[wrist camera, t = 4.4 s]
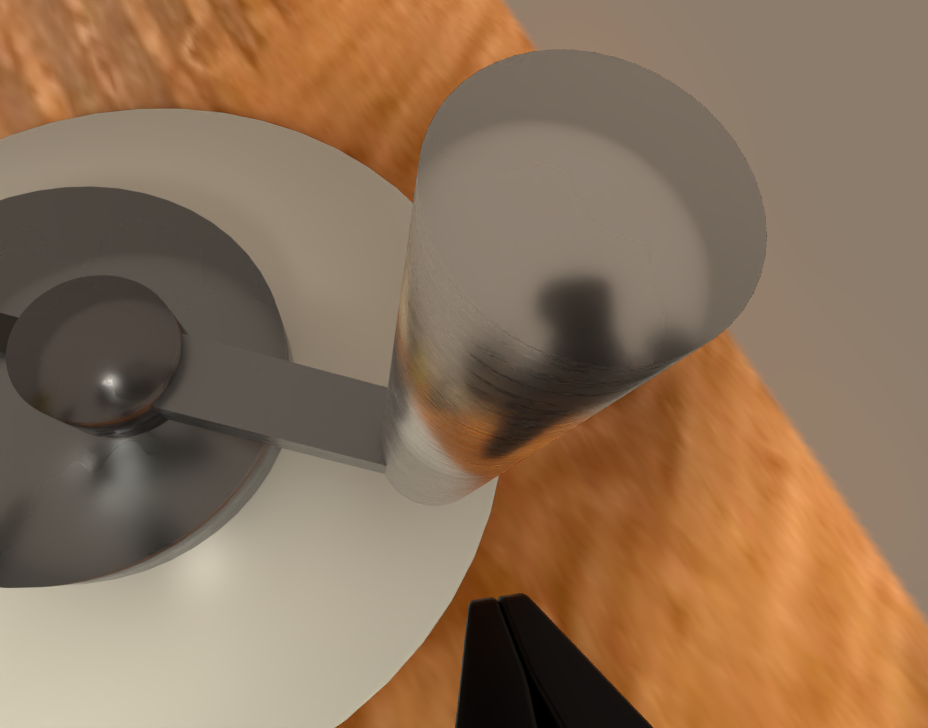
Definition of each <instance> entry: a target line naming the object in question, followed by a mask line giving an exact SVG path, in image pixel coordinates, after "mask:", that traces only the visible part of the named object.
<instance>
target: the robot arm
mask: <svg viewBox="0 0 928 728" xmlns="http://www.w3.org/2000/svg"><path fill="white" fill-rule="evenodd" d="M455 728H653V727H652V726H651V725H650V723H649V722H648V721H647V720H646V719H645V718H644V717H643V716H642V715H641V714H640V713H639V712H638V711H637V710H636V709H635V708H634V707H633V706H632V705H631V704H630V702H629V701H628V700H627V699H626V698H625V697H624V696H623V695H622V694H621V693H620V692H619V691H618V690H617V689H616V688H615V687H614V686H613V685H612V684H611V683H610V682H609V680H608V679H607V678H606V677H605V676H604V675H603V674H602V673H601V672H600V671H599V670H598V669H597V668H596V667H595V666H594V665H593V664H592V663H591V662H590V661H589V659H588V658H587V657H586V656H585V655H584V654H583V653H582V652H581V651H580V650H579V649H578V648H577V647H576V646H575V645H574V644H573V643H572V642H571V641H570V640H569V638H568V637H567V636H566V635H565V634H564V633H563V632H562V631H561V630H560V629H559V628H558V627H557V626H556V625H555V624H554V623H553V622H552V621H551V620H550V619H549V617H548V616H547V615H546V614H545V613H544V612H543V611H542V610H541V609H540V608H539V607H538V606H537V605H536V604H535V603H534V602H533V601H532V600H531V599H530V598H529V597H528V596H527V595H525V594H523V593H518V594H511V595H505V596H501V597H499V598H498V600H496V599H495V598H492V597H491V598H484V599H477V600H472V601H470V603H469V605H468V613H467V622H466V631H465V640H464V649H463V659H462V668H461V677H460V686H459V695H458V704H457V713H456V723H455Z"/></svg>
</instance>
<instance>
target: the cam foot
mask: <svg viewBox="0 0 928 728" xmlns="http://www.w3.org/2000/svg"><path fill="white" fill-rule="evenodd" d="M766 241H767V232H766V218H765V212H764V207H763V202H762V197H761V194H760V191H759V188H758V185H757V182H756V179H755V177H754V175H753V173H752V170H751V168H750V166H749V164H748V162H747V160H746V158H745V157H744V155H743V153H742V152H741V150H740V148H739V147H738V145H737V144H736V142H735V141H734V139H733V138H732V137H731V135H730V134H729V133H728V132H727V130H726V129H725V128H724V126H723V125H722V124H721V123H720V122H719V121H718V120H717V119H716V118H715V117H714V116H713V115H712V114H711V113H710V112H709V111H708V110H707V109H706V108H705V107H704V106H703V105H702V104H701V103H699V102H698V101H697V100H696V99H695V98H693V97H692V96H691V95H690V94H688V93H687V92H686V91H684V90H683V89H681V88H680V87H678V86H677V85H676V84H674V83H672V82H671V81H669V80H667V79H665V78H664V77H662V76H660V75H658V74H656V73H655V72H653V71H650V70H648V69H646V68H643V67H641V66H639V65H637V64H634V63H631V62H628V61H625V60H622V59H619V58H616V57H613V56H608V55H604V54H600V53H595V52H587V51H579V50H544V51H533V52H529V53H524V54H520V55H515V56H512V57H509V58H506V59H503V60H501V61H498V62H495V63H493V64H491V65H489V66H487V67H485V68H483V69H481V70H479V71H478V72H476V73H475V74H473V75H472V76H471V77H469V78H468V79H466V80H465V81H464V82H462V83H461V84H460V85H459V86H458V87H457V88H456V89H455V90H454V91H453V92H452V93H451V94H450V95H449V96H448V97H447V98H446V100H445V101H444V102H443V104H442V105H441V106H440V108H439V109H438V110H437V112H436V114H435V116H434V118H433V119H432V121H431V123H430V125H429V127H428V129H427V132H426V135H425V138H424V141H423V144H422V147H421V153H420V159H419V165H418V171H417V179H416V186H415V193H414V200H413V208H412V215H411V222H410V229H409V237H408V244H407V251H406V258H405V266H404V273H403V280H402V287H401V295H400V302H399V309H398V316H397V324H396V331H395V338H394V345H393V353H392V360H391V367H390V374H389V382H388V387H384V386H381V385H377V384H373V383H369V382H365V381H362V380H358V379H354V378H350V377H346V376H343V375H339V374H335V373H331V372H327V371H324V370H320V369H316V368H312V367H308V366H305V365H301V364H297V363H294V362H293V357H292V352H291V348H290V343H289V340H288V337H287V334H286V331H285V328H284V325H283V322H282V319H281V316H280V313H279V311H278V308H277V305H276V303H275V300H274V297H273V294H272V292H271V290H270V288H269V286H268V284H267V282H266V281H265V279H264V277H263V275H262V273H261V271H260V270H259V269H258V267H257V266H256V265H255V263H254V262H253V261H252V259H251V258H250V257H249V255H248V254H247V253H246V252H245V251H244V250H243V249H242V248H241V247H240V246H239V245H238V244H237V243H236V242H235V241H234V240H233V239H232V238H231V237H230V236H229V235H228V234H226V233H225V232H224V231H223V230H221V229H220V228H219V227H217V226H216V225H215V224H213V223H212V222H211V221H209V220H207V219H205V218H204V217H202V216H200V215H199V214H197V213H195V212H193V211H192V210H190V209H187V208H185V207H183V206H180V205H178V204H176V203H173V202H171V201H169V200H166V199H162V198H159V197H156V196H152V195H149V194H146V193H141V192H136V191H130V190H125V189H119V188H107V187H93V186H89V187H62V188H55V189H47V190H39V191H34V192H30V193H25V194H21V195H17V196H12V197H8V198H5V199H3V200H0V587H1V588H34V587H51V586H64V585H76V584H87V583H94V582H101V581H108V580H115V579H118V578H122V577H126V576H129V575H133V574H137V573H140V572H144V571H146V570H149V569H151V568H154V567H156V566H159V565H161V564H164V563H166V562H169V561H171V560H173V559H174V558H176V557H178V556H180V555H182V554H183V553H185V552H187V551H189V550H191V549H193V548H194V547H196V546H197V545H199V544H200V543H202V542H203V541H204V540H206V539H207V538H209V537H210V536H212V535H213V534H214V533H216V532H217V531H218V530H219V529H221V528H222V527H223V526H224V525H225V524H226V523H227V522H228V521H229V520H231V519H232V518H233V517H234V516H235V515H236V514H237V513H238V512H239V511H240V510H241V509H242V508H243V507H244V505H245V504H246V503H247V502H248V501H249V500H250V499H251V497H252V496H253V495H254V494H255V493H256V491H257V490H258V488H259V487H260V485H261V484H262V483H263V481H264V480H265V478H266V477H267V475H268V474H269V472H270V470H271V468H272V466H273V464H274V463H275V461H276V459H277V457H278V455H279V453H280V451H281V448H283V449H287V450H291V451H295V452H299V453H303V454H307V455H311V456H315V457H319V458H323V459H327V460H331V461H335V462H339V463H343V464H347V465H351V466H355V467H359V468H363V469H367V470H371V471H375V472H379V473H383V474H385V475H386V477H387V479H388V481H389V482H390V483H391V485H392V486H393V487H394V488H395V489H396V490H397V491H398V492H399V493H400V494H401V495H403V496H404V497H406V498H407V499H409V500H411V501H413V502H416V503H419V504H423V505H429V506H441V505H447V504H451V503H454V502H456V501H458V500H460V499H462V498H464V497H465V496H467V495H469V494H470V493H472V492H473V491H475V490H476V489H478V488H480V487H481V486H483V485H484V484H486V483H487V482H489V481H491V480H492V479H494V478H495V477H497V476H499V475H500V474H502V473H503V472H505V471H506V470H508V469H510V468H511V467H513V466H514V465H516V464H517V463H519V462H521V461H522V460H524V459H525V458H527V457H528V456H530V455H532V454H533V453H535V452H536V451H538V450H539V449H541V448H543V447H544V446H546V445H547V444H549V443H550V442H552V441H554V440H555V439H557V438H558V437H560V436H562V435H563V434H565V433H566V432H568V431H569V430H571V429H573V428H574V427H576V426H577V425H579V424H580V423H582V422H584V421H585V420H587V419H588V418H590V417H591V416H593V415H595V414H596V413H598V412H599V411H601V410H602V409H604V408H606V407H607V406H609V405H610V404H612V403H613V402H615V401H617V400H618V399H620V398H621V397H623V396H625V395H626V394H628V393H629V392H631V391H632V390H634V389H636V388H637V387H639V386H640V385H642V384H643V383H645V382H647V381H648V380H650V379H651V378H653V377H654V376H656V375H658V374H659V373H661V372H662V371H664V370H665V369H667V368H669V367H670V366H672V365H673V364H675V363H676V362H678V361H680V360H681V359H683V358H684V357H686V356H688V355H689V354H691V353H692V352H694V351H695V350H697V349H699V348H700V347H702V346H703V345H705V344H706V343H708V342H710V341H711V340H713V339H714V338H716V337H717V336H718V335H719V334H720V333H721V332H723V331H724V330H725V329H726V328H727V327H729V326H730V325H731V324H732V323H733V321H734V320H735V319H736V318H737V317H738V316H739V314H740V313H741V312H742V311H743V309H744V308H745V306H746V305H747V303H748V301H749V300H750V298H751V297H752V295H753V293H754V291H755V288H756V286H757V283H758V281H759V278H760V276H761V273H762V268H763V264H764V260H765V254H766Z"/></svg>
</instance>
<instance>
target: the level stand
mask: <svg viewBox="0 0 928 728" xmlns="http://www.w3.org/2000/svg"><path fill="white" fill-rule="evenodd" d="M89 186H93V187H107V188H119V189H125V190H130V191H136V192H141V193H146V194H149V195H152V196H156V197H159V198H162V199H166V200H169V201H171V202H173V203H176V204H178V205H180V206H183V207H185V208H187V209H190V210H192V211H193V212H195V213H197V214H199V215H200V216H202V217H204V218H205V219H207V220H209V221H211V222H212V223H213V224H215V225H216V226H217V227H219V228H220V229H221V230H223V231H224V232H225V233H226V234H228V235H229V236H230V237H231V238H232V239H233V240H234V241H235V242H236V243H237V244H238V245H239V246H240V247H241V248H242V249H243V250H244V251H245V252H246V253H247V254H248V255H249V257H250V258H251V259H252V261H253V262H254V263H255V265H256V266H257V267H258V269H259V270H260V271H261V273H262V275H263V277H264V279H265V281H266V282H267V284H268V286H269V288H270V290H271V292H272V294H273V297H274V300H275V303H276V305H277V308H278V311H279V313H280V316H281V319H282V322H283V325H284V328H285V331H286V334H287V337H288V340H289V343H290V348H291V352H292V357H293V362H294V363H297V364H301V365H305V366H308V367H312V368H316V369H320V370H324V371H327V372H331V373H335V374H339V375H343V376H346V377H350V378H354V379H358V380H362V381H365V382H369V383H373V384H377V385H381V386H384V387H388V382H389V374H390V367H391V360H392V353H393V345H394V338H395V331H396V324H397V316H398V309H399V302H400V295H401V287H402V280H403V273H404V266H405V258H406V251H407V244H408V237H409V229H410V222H411V215H412V208H413V203H412V202H411V201H410V200H409V199H408V198H407V197H406V196H405V195H404V194H403V193H402V192H401V191H399V190H398V189H397V188H396V187H394V186H393V185H392V184H390V183H389V182H388V181H386V180H385V179H384V178H382V177H381V176H380V175H378V174H377V173H376V172H374V171H373V170H372V169H370V168H369V167H367V166H366V165H364V164H362V163H361V162H359V161H357V160H355V159H354V158H352V157H350V156H348V155H347V154H345V153H343V152H342V151H340V150H338V149H336V148H334V147H332V146H330V145H328V144H325V143H323V142H321V141H318V140H316V139H314V138H312V137H309V136H307V135H305V134H302V133H300V132H297V131H294V130H291V129H288V128H284V127H281V126H278V125H275V124H272V123H268V122H265V121H262V120H257V119H252V118H247V117H242V116H237V115H232V114H227V113H221V112H211V111H200V110H190V109H134V110H124V111H115V112H105V113H96V114H91V115H86V116H81V117H76V118H71V119H66V120H62V121H57V122H52V123H49V124H46V125H42V126H39V127H36V128H33V129H29V130H26V131H23V132H20V133H16V134H13V135H10V136H7V137H5V138H2V139H0V200H3V199H5V198H8V197H12V196H17V195H21V194H25V193H30V192H34V191H39V190H47V189H55V188H62V187H89ZM498 477H499V476H497V477H495V478H494V479H492V480H491V481H489V482H487V483H486V484H484V485H483V486H481V487H480V488H478V489H476V490H475V491H473V492H472V493H470V494H469V495H467V496H465V497H464V498H462V499H460V500H458V501H456V502H454V503H451V504H447V505H441V506H429V505H423V504H419V503H416V502H413V501H411V500H409V499H407V498H406V497H404V496H403V495H401V494H400V493H399V492H398V491H397V490H396V489H395V488H394V487H393V486H392V485H391V483H390V482H389V481H388V479H387V477H386V475H385V474H383V473H379V472H375V471H371V470H367V469H363V468H359V467H355V466H351V465H347V464H343V463H339V462H335V461H331V460H327V459H323V458H319V457H315V456H311V455H307V454H303V453H299V452H295V451H291V450H287V449H283V448H281V451H280V453H279V455H278V457H277V459H276V461H275V463H274V464H273V466H272V468H271V470H270V472H269V474H268V475H267V477H266V478H265V480H264V481H263V483H262V484H261V485H260V487H259V488H258V490H257V491H256V493H255V494H254V495H253V496H252V497H251V499H250V500H249V501H248V502H247V503H246V504H245V505H244V507H243V508H242V509H241V510H240V511H239V512H238V513H237V514H236V515H235V516H234V517H233V518H232V519H231V520H229V521H228V522H227V523H226V524H225V525H224V526H223V527H222V528H221V529H219V530H218V531H217V532H216V533H214V534H213V535H212V536H210V537H209V538H207V539H206V540H204V541H203V542H202V543H200V544H199V545H197V546H196V547H194V548H193V549H191V550H189V551H187V552H185V553H183V554H182V555H180V556H178V557H176V558H174V559H173V560H171V561H169V562H166V563H164V564H161V565H159V566H156V567H154V568H151V569H149V570H146V571H144V572H140V573H137V574H133V575H129V576H126V577H122V578H118V579H115V580H108V581H101V582H94V583H87V584H76V585H64V586H51V587H34V588H1V587H0V728H335V727H336V726H338V725H339V724H341V723H342V722H344V721H345V720H346V719H348V718H349V717H350V716H351V715H352V714H353V713H354V712H355V711H357V710H358V709H359V708H360V707H361V706H362V705H363V704H364V703H366V702H367V701H368V700H369V699H370V698H371V697H372V696H373V695H375V694H376V693H377V692H378V691H379V690H380V689H381V688H383V687H384V686H385V685H386V684H387V683H388V682H389V681H390V680H391V679H392V677H393V676H394V675H395V674H396V673H397V672H398V671H399V669H400V668H401V667H402V666H403V665H404V664H405V663H406V662H407V660H408V659H409V658H410V657H411V656H412V655H413V654H414V652H415V651H416V650H417V649H418V648H419V647H420V646H421V645H422V643H423V642H424V641H425V639H426V638H427V636H428V635H429V633H430V632H431V630H432V629H433V627H434V626H435V625H436V623H437V622H438V620H439V619H440V617H441V616H442V614H443V613H444V611H445V610H446V608H447V607H448V606H449V604H450V603H451V601H452V599H453V597H454V596H455V594H456V592H457V590H458V588H459V586H460V584H461V582H462V580H463V578H464V576H465V574H466V572H467V570H468V568H469V566H470V564H471V563H472V561H473V559H474V557H475V554H476V551H477V548H478V546H479V543H480V540H481V537H482V535H483V532H484V529H485V526H486V524H487V521H488V518H489V516H490V513H491V508H492V504H493V499H494V495H495V491H496V486H497V482H498Z"/></svg>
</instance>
